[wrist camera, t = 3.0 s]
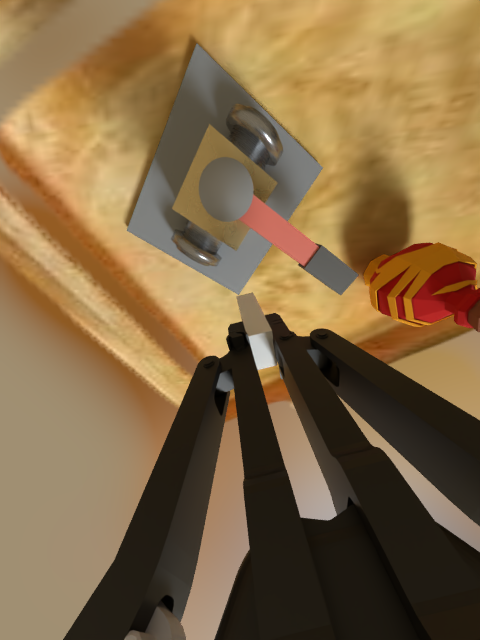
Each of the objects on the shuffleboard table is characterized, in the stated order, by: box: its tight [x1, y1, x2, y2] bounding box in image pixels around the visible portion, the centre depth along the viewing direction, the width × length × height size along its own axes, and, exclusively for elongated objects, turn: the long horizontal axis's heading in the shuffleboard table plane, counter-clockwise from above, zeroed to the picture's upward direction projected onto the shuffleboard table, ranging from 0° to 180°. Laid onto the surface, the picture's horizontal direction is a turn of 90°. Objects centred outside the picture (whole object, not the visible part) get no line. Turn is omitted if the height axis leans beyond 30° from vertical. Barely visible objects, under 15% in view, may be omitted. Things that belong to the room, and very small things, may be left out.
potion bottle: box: [363, 242, 480, 332], centre depth 24 cm, size 10×10×15 cm
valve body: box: [171, 104, 283, 267], centre depth 20 cm, size 14×7×8 cm, turn 147°
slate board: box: [127, 44, 323, 295], centre depth 24 cm, size 18×16×1 cm
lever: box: [199, 157, 358, 295], centre depth 18 cm, size 16×4×2 cm, turn 57°
